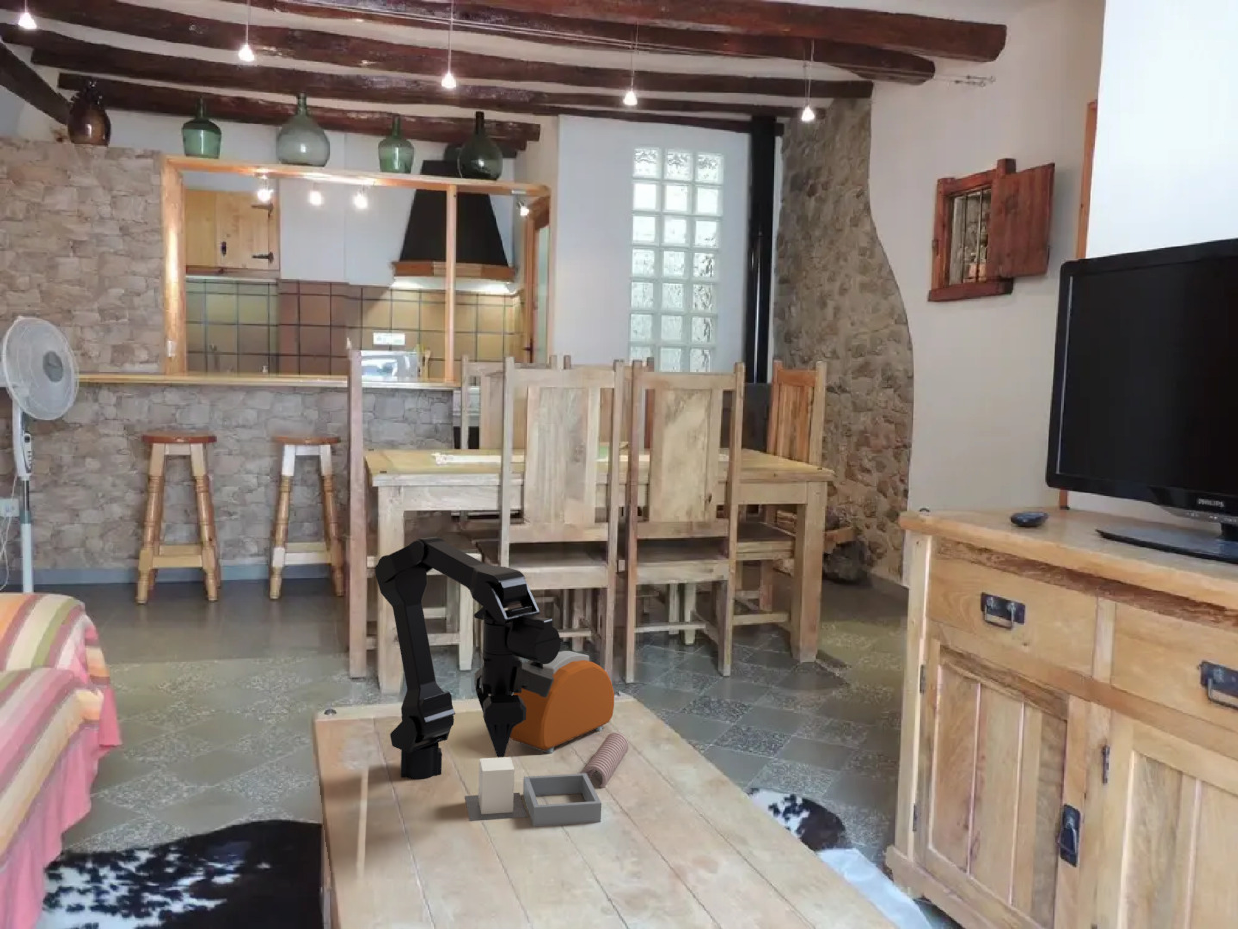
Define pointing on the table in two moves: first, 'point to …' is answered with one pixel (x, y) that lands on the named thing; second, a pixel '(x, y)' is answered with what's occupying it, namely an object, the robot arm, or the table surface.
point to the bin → (563, 811)
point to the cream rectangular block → (496, 785)
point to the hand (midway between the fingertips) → (497, 745)
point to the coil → (607, 757)
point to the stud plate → (476, 814)
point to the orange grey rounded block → (566, 703)
